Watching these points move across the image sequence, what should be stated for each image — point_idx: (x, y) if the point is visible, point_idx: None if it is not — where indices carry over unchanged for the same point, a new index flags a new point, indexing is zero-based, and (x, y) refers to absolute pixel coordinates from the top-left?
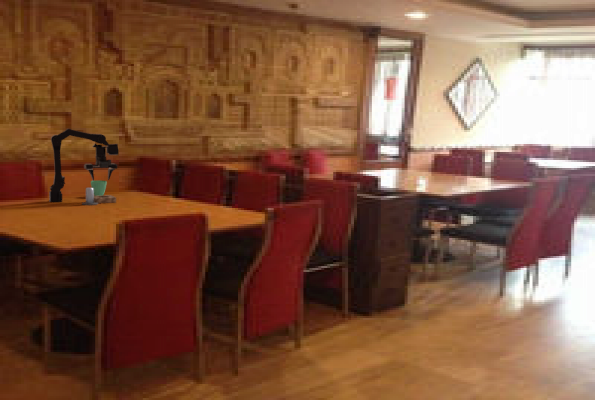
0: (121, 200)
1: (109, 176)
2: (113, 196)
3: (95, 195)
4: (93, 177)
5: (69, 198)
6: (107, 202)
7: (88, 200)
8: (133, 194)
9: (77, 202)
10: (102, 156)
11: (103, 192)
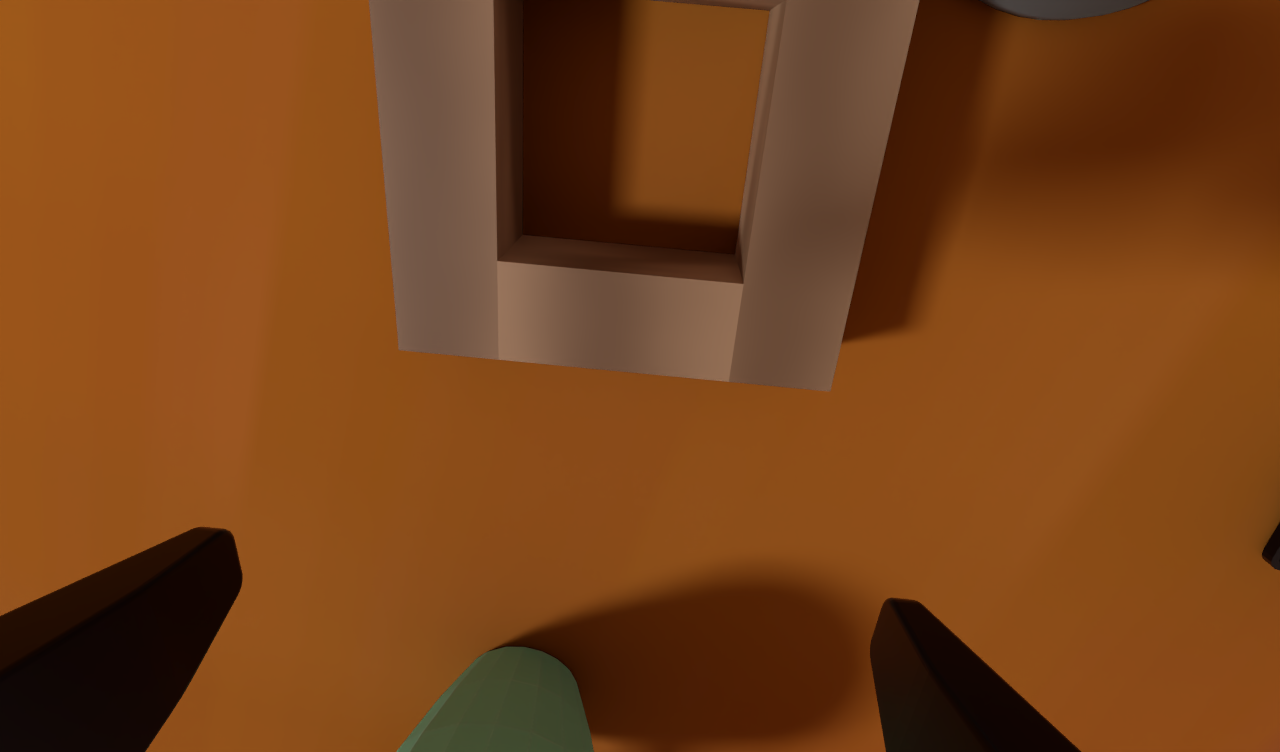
0: (240, 164)
1: (29, 630)
2: (378, 90)
3: (576, 692)
4: (981, 701)
5: None
6: None
7: None
8: None
9: (1153, 235)
10: None
11: (443, 701)
